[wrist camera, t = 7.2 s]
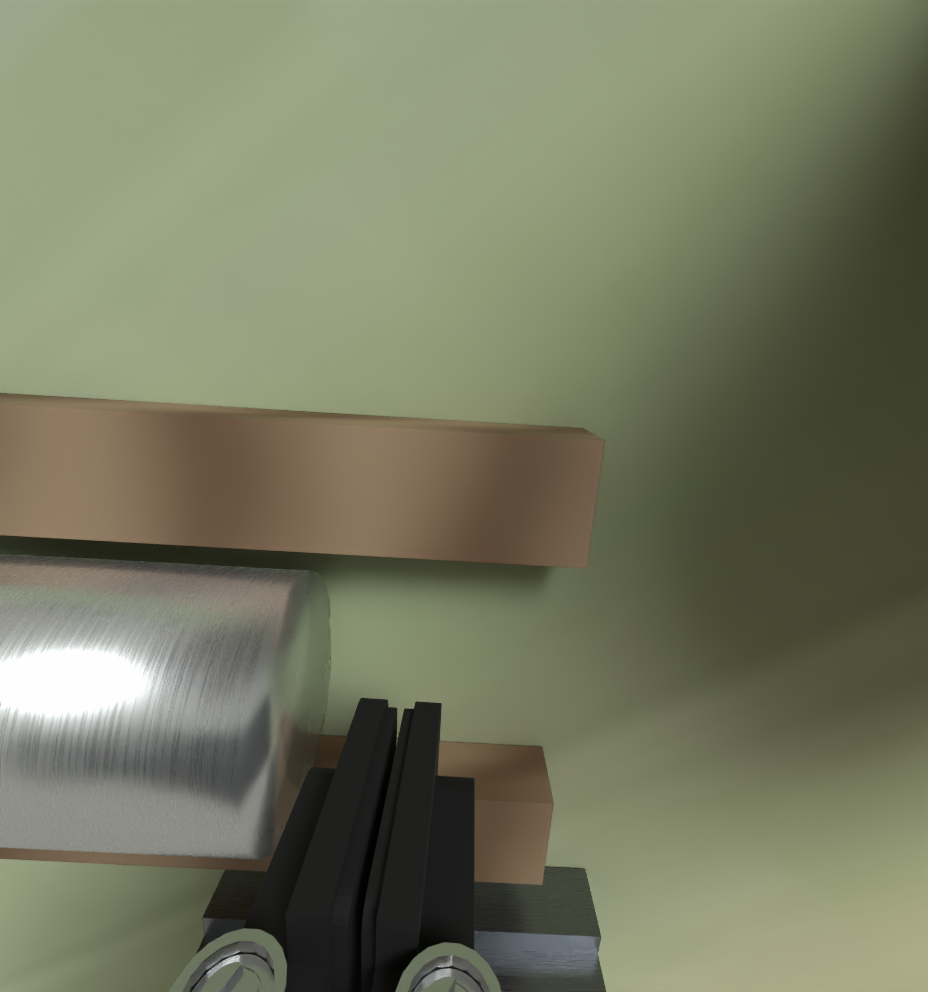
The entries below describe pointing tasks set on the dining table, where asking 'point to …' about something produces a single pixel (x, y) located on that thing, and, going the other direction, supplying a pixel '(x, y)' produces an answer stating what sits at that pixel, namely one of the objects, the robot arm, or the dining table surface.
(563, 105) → the dining table surface
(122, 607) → the axle
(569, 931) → the v block
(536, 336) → the dining table surface
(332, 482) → the wooden blocks
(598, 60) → the dining table surface
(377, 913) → the robot arm
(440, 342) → the dining table surface
